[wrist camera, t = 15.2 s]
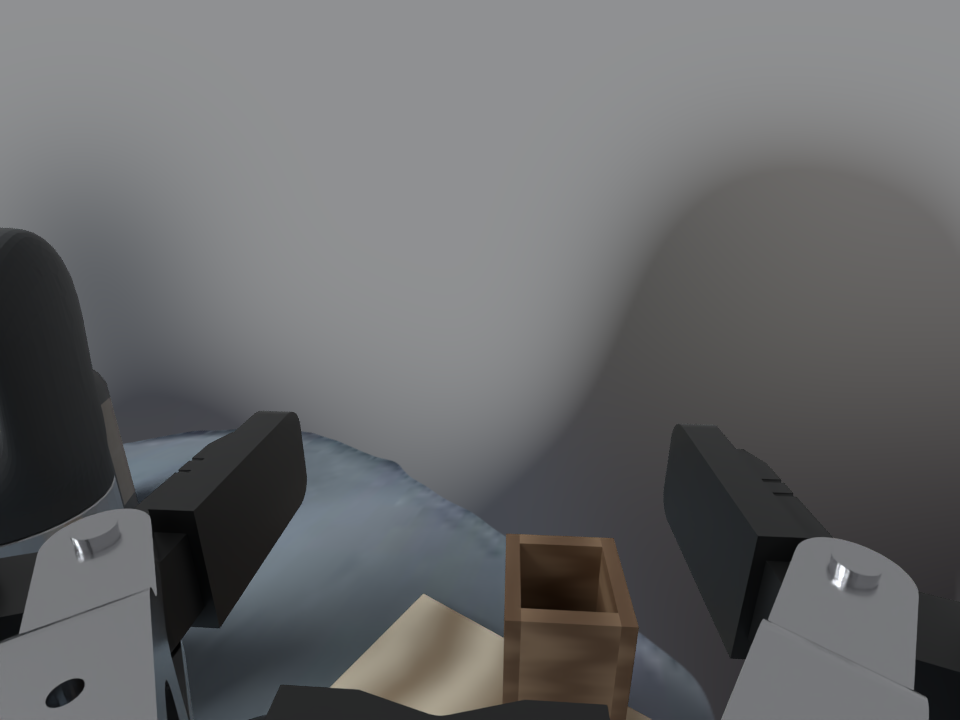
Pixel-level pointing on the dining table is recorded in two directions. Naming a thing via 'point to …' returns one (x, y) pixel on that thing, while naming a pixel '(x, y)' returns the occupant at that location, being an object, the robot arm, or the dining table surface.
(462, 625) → the board
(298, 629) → the dining table surface
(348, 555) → the dining table surface
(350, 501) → the dining table surface
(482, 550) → the dining table surface
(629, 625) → the sleeve
